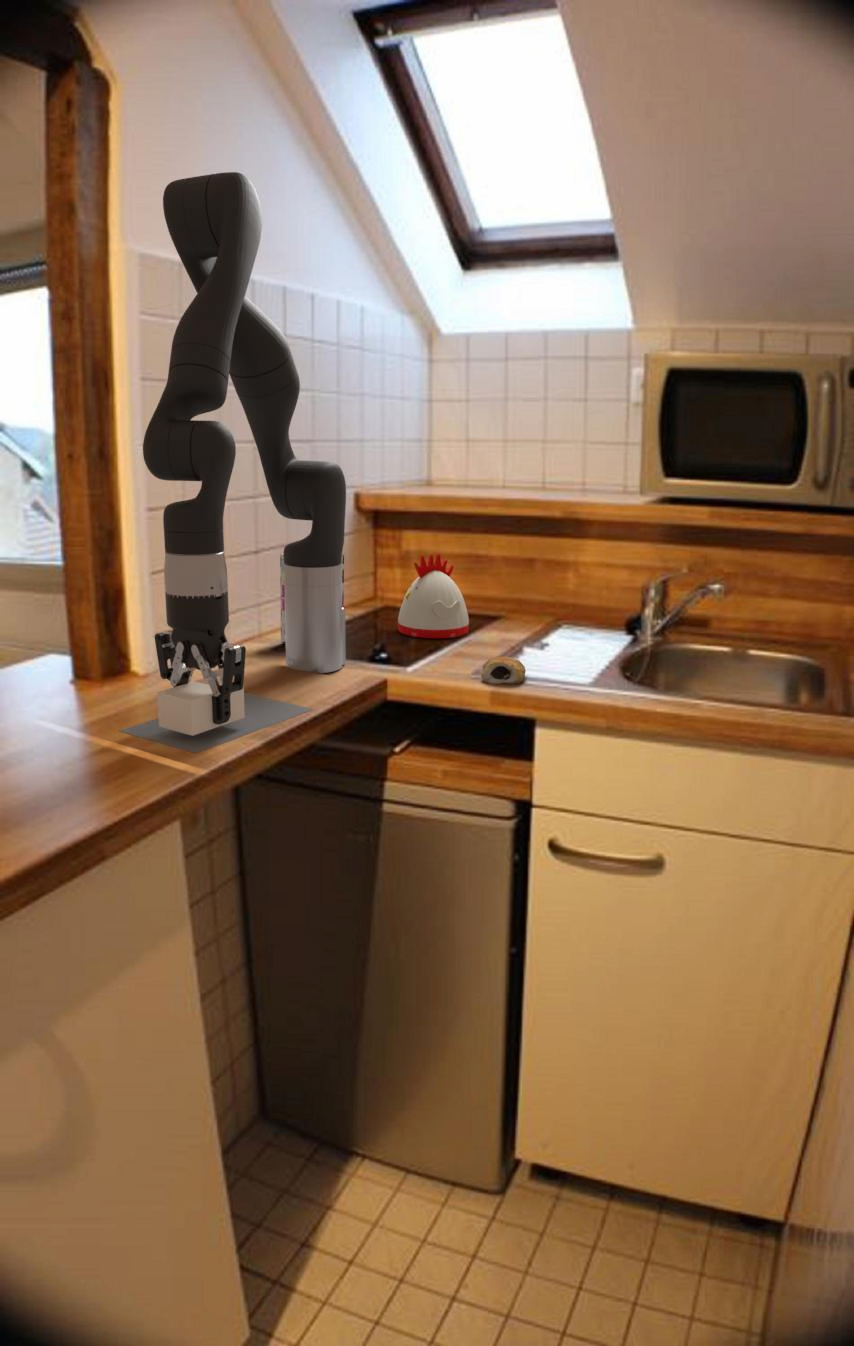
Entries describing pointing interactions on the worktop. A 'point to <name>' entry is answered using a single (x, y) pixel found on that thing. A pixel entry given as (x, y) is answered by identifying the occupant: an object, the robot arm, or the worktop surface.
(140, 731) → the mat
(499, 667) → the pastry
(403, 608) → the kitchen timer
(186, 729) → the card deck
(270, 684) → the worktop surface
